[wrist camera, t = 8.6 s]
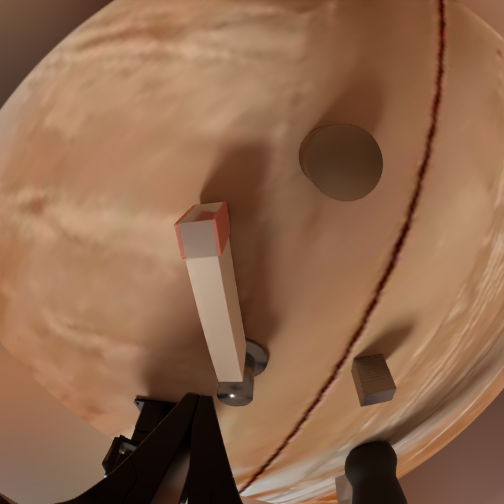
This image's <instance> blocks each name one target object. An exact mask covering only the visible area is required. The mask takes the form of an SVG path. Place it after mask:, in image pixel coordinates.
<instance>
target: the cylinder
mask: <svg viewBox="0 0 504 504" xmlns="http://www.w3.org/2000/svg"><path fill="white" fill-rule="evenodd" d="M299 161H300V165H301V168H302V170H303V172H304V174H305V175H306V176H307V177H308V178H309V179H310V180H311V181H312V182H313V183H314V184H315V185H316V186H317V187H318V188H319V189H320V190H321V191H322V192H323V193H324V194H325V195H327V196H329V197H331V198H333V199H336V200H339V201H354V200H358V199H360V198H363V197H364V196H366V195H367V194H369V193H370V192H371V191H372V190H373V189H374V188H375V186H376V185H377V183H378V182H379V179H380V177H381V174H382V168H383V159H382V154H381V151H380V148H379V146H378V144H377V142H376V141H375V139H374V138H373V137H372V136H371V135H370V134H369V133H368V132H367V131H365V130H364V129H362V128H360V127H358V126H355V125H350V124H338V125H332V126H326V127H321V128H318V129H315V130H314V131H312V132H310V133H309V134H308V135H307V136H306V137H305V139H304V140H303V142H302V144H301V146H300V150H299Z"/></svg>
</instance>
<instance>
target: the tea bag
mask: <svg viewBox="0 0 504 504" xmlns="http://www.w3.org/2000/svg"><path fill="white" fill-rule="evenodd" d="M335 482H336V491H337V501H338V503H339V504H352V491H353V489H352V486H351V484H350V482H349V481H348V479H347V477H346V475H343V476H340V477H337V478H335Z"/></svg>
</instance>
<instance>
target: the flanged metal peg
mask: <svg viewBox="0 0 504 504" xmlns="http://www.w3.org/2000/svg"><path fill="white" fill-rule="evenodd" d="M245 341H246V354H245V364H244V374H243V382H219V386H218V391H217V397H218V399H219V400H220V401H221V402H223V403H224V404H227V405H230V406H244V405H247V404H249V403H250V402H251V401H252V399H253V386H254V376H257V375H259V374H260V373H262V372H263V371H264V370H265V368H266V366H267V353H266V351H265V350H264V348H263V347H262V346H261V345H259V344H258V343H256V342H254V341H252V340H249V339H245ZM211 360H212V359H211ZM212 363H213V362H212Z"/></svg>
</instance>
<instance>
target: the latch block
mask: <svg viewBox="0 0 504 504" xmlns="http://www.w3.org/2000/svg"><path fill="white" fill-rule="evenodd" d="M351 372H352V376H353V379H354V383H355V387H356V390H357V394H358V398H359V401H360V405H361V407H362V406H367V405H372V404H377V403H381V402H386V401H390V400H392V398H393V396H394V393H395V391H396V389H397V388H396V386H395V383H394V381H393V378H392V376H391V373H390V371H389V368H388V366H387V364H386V361H385V359H384V357H383V354H380V355H375V356H369V357H363V358H357V359H353V364H352V370H351Z"/></svg>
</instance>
